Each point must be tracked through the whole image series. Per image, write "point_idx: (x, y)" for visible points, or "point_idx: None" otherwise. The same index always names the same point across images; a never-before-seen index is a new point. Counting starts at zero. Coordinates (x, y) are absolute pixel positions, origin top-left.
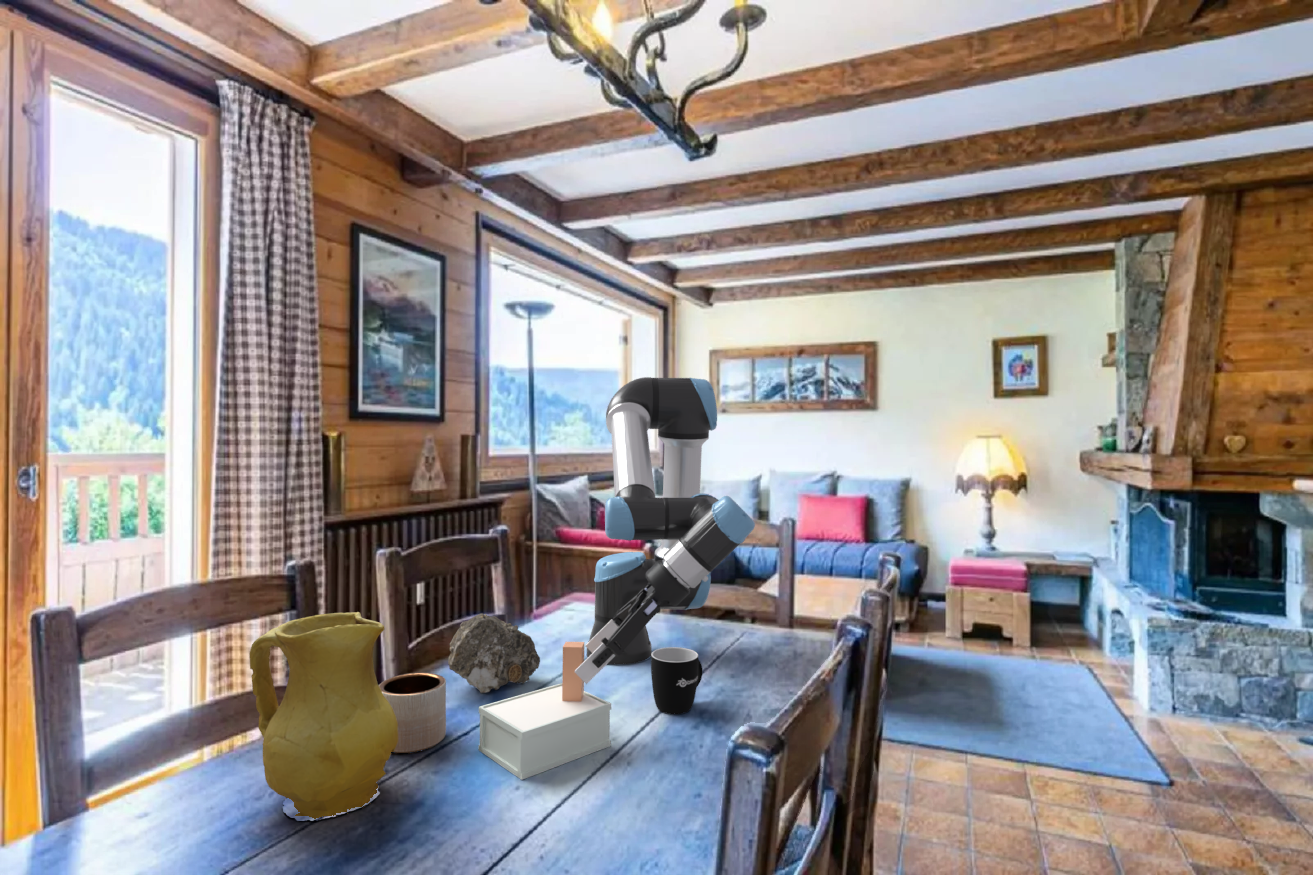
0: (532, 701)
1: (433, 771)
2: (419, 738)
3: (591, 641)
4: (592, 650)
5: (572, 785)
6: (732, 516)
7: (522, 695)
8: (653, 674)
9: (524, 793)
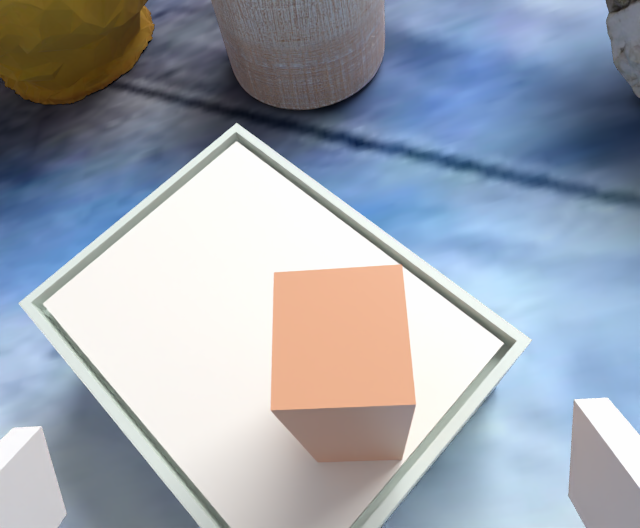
0: (303, 263)
1: (159, 150)
2: (236, 68)
3: (598, 443)
4: (575, 462)
5: None
6: None
7: (347, 215)
8: None
9: (27, 377)
